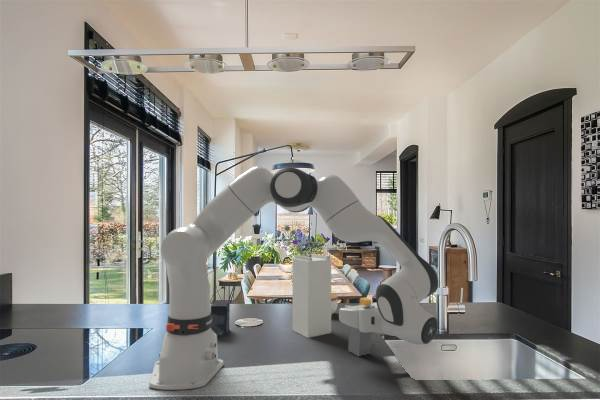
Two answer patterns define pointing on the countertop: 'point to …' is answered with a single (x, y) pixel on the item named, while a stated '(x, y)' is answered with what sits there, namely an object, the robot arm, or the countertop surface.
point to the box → (220, 317)
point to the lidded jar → (334, 303)
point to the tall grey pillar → (311, 295)
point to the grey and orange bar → (359, 336)
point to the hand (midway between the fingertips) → (353, 306)
